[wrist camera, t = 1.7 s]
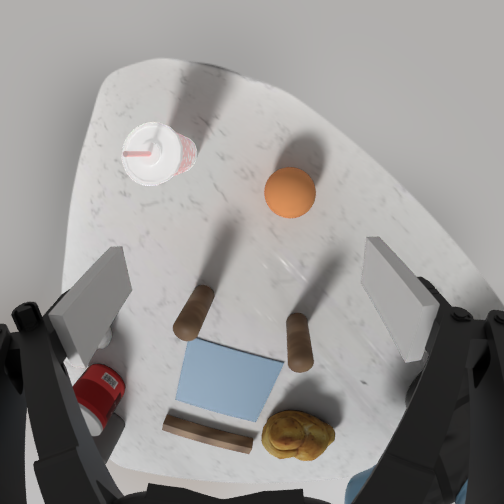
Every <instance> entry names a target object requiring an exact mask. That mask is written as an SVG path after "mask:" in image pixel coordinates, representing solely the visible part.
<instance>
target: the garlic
mask: <svg viewBox="0 0 504 504" xmlns="http://www.w3.org/2000/svg"><path fill="white" fill-rule="evenodd" d="M111 337H112V332H111V327H109V329H108V330H107V332H106V334H105V335H104V337H103V339H102V341H101V342H100V344H99V346H98V348H97V349H96V350H98V349H103V348H105V347H107V346H108V344H109V342H110V341H111Z"/></svg>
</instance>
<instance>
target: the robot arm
mask: <svg viewBox="0 0 504 504" xmlns="http://www.w3.org/2000/svg"><path fill="white" fill-rule="evenodd" d="M361 284H362V285H363V287H364V289H365V291H366V292H367V294H368V296H369V297H370V299H371V301H372V303H373V304H374V306H375V308H376V310H377V311H378V313H379V315H380V317H381V319H382V320H383V322H384V324H385V326H386V328H387V329H388V331H389V333H390V335H391V337H392V339H393V340H394V342H395V344H396V346H397V348H398V350H399V352H400V354H401V356H402V357H403V359H404V361H405V363H408V362H413V361H418V360H421V359H422V356H423V353H424V351H425V349H426V351H427V352H428V354H429V357H428V360H427V362H426V365H425V367H424V369H423V371H422V372H421V373H420V374H419V375H418V377H417V378H416V379H415V380H414V382H413V383H412V385H411V386H410V388H409V390H408V392H407V395H406V407H407V409H406V411H405V413H404V415H403V417H402V419H401V421H400V423H399V425H398V427H397V429H396V431H395V433H394V435H393V436H392V438H391V440H390V442H389V444H388V446H387V447H386V449H385V451H384V453H383V454H382V456H381V458H380V459H379V461H378V463H377V464H376V465H374V466H373V467H372V468H370V469H368V470H365V471H363V472H360V473H358V474H356V475H354V476H353V477H352V478H351V480H350V481H349V483H348V485H347V489H346V493H345V504H452V503H453V502H455V504H504V311H499V310H492V311H490V312H489V313H488V316H487V318H486V320H474V319H473V316H472V315H471V314H470V313H469V312H468V311H467V310H465V309H462V308H459V307H452V306H451V305H450V304H449V303H448V302H447V301H446V300H445V298H444V297H443V296H442V295H441V294H439V292H438V290H437V289H435V287H434V286H433V285H432V284H431V283H430V282H429V281H428V280H426V279H424V278H423V277H416V276H415V275H414V274H413V272H412V271H411V270H410V269H409V268H408V267H407V266H406V265H405V264H404V263H403V261H402V260H401V259H400V258H399V257H398V256H397V255H396V254H395V253H394V252H393V251H392V250H391V249H390V248H389V246H388V245H387V244H386V243H385V242H384V241H383V240H382V239H381V238H380V237H366V244H365V253H364V262H363V270H362V278H361ZM131 291H132V287H131V283H130V279H129V274H128V270H127V266H126V261H125V257H124V252H123V247H122V246H120V247H110V248H109V249H108V250H107V251H106V252H105V253H104V254H103V255H102V256H101V257H100V258H99V259H98V260H97V261H96V262H95V263H94V264H93V265H92V266H91V267H90V268H89V270H88V271H87V272H86V273H85V274H84V275H83V276H82V277H81V278H80V279H79V280H78V281H77V282H76V283H75V285H74V286H73V287H72V288H71V289H69V290H68V291H66V292H65V293H63V294H62V295H61V296H60V297H59V298H58V300H57V301H56V302H55V303H54V304H53V306H51V307H50V309H49V310H48V311H47V312H46V314H45V315H44V316H43V317H42V315H41V313H40V310H39V308H38V305H37V304H36V303H35V302H27V303H23V304H21V305H19V306H18V307H16V308H15V309H14V310H13V312H12V314H11V315H12V318H13V320H14V322H15V324H16V326H17V329H18V330H19V332H13V333H10V332H9V330H8V328H7V326H6V324H0V504H27V501H26V488H25V428H26V413H27V408H28V414H29V418H30V423H31V428H32V432H33V437H34V441H35V445H36V449H37V453H38V456H39V460H38V461H35V462H34V464H33V465H34V471H35V475H36V478H37V481H38V484H39V487H40V490H41V494H42V497H43V499H44V502H45V504H331V503H329V502H325V501H322V500H319V499H314V498H310V497H304V496H303V489H294V490H278V491H262V492H258V493H254V494H249V495H244V496H239V497H234V498H229V499H218V498H215V497H211V496H208V495H204V494H201V493H198V492H194V491H191V490H188V489H185V488H179V487H171V486H164V485H157V484H150V483H148V487H147V491H144V492H137V493H133V494H129V495H126V496H124V495H123V494H122V493H121V491H120V490H119V489H118V487H117V486H116V484H115V482H114V480H113V479H112V477H111V475H110V473H109V471H108V469H107V467H106V465H105V463H104V461H103V459H102V457H101V455H100V453H99V451H98V449H97V447H96V445H95V442H94V440H93V438H92V436H91V433H90V431H89V429H88V426H87V424H86V422H85V419H84V417H83V414H82V412H81V409H80V406H79V404H78V401H77V398H76V396H75V393H74V390H73V387H72V384H71V381H70V378H69V375H68V372H67V369H66V367H65V365H64V363H63V362H64V360H65V358H66V357H67V358H68V360H69V362H70V364H71V366H72V367H79V368H85V369H86V367H87V365H88V364H89V362H90V360H91V358H92V356H93V355H94V353H95V351H96V349H97V348H98V346H99V344H100V342H101V341H102V339H103V337H104V335H105V334H106V332H107V330H108V329H109V327H110V325H111V324H112V322H113V320H114V319H115V317H116V315H117V314H118V312H119V310H120V309H121V307H122V306H123V304H124V302H125V301H126V299H127V298H128V296H129V294H130V293H131Z"/></svg>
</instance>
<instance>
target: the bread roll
mask: <svg viewBox="0 0 504 504" xmlns="http://www.w3.org/2000/svg"><path fill="white" fill-rule="evenodd" d="M334 440H335V431H334V429H333V427H332V426H330V425H329V424H328V423H325V422H322V421H321V420H319V419H318V418H316V417H315V416H312V415H310V414H308V413H304V412H302V411H293V410H285V411H283V412H279V413H277V414H275V415H273V416H272V417H270V418H269V419H268V421H267V423H266V424H265V426H264V427H263V432H262V440H261V441H262V444H263V446H264V447H265V449H266V450H267V451H268V452H269V454H271V455H273V456H275V457H277V458H279V459H284V458H291V457H295V458H297V459H299V460H303V461H312V460H314V459H316V458H317V457H318V456H320V455H321V454H322V453H323V452H324V451H325V450H326V449H327V447H328V446H329V445H330V444H331V443H332V442H333V441H334Z"/></svg>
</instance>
